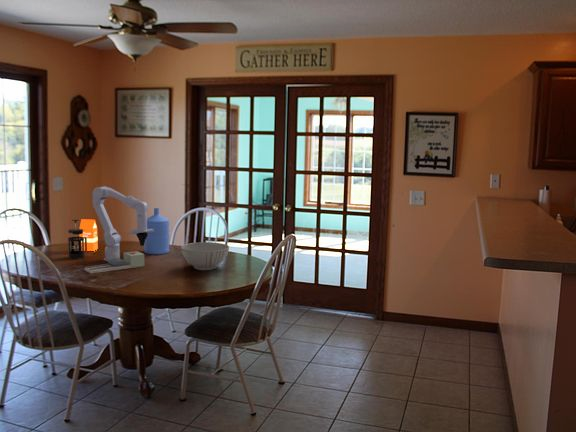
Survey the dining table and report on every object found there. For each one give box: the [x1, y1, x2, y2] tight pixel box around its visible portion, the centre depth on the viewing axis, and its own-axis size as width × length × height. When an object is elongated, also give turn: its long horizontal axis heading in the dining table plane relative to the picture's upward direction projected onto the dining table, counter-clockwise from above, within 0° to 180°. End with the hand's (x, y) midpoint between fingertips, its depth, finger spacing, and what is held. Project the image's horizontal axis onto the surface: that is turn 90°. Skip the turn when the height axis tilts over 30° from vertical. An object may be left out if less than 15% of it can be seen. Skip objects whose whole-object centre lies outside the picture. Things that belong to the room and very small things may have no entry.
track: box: [84, 250, 145, 274], centre depth 313 cm, size 10×30×7 cm, turn 130°
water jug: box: [143, 207, 170, 255], centre depth 356 cm, size 16×16×28 cm
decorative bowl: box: [180, 241, 230, 271], centre depth 319 cm, size 27×27×12 cm
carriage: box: [107, 252, 124, 265], centre depth 313 cm, size 7×6×6 cm
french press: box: [67, 218, 88, 260], centre depth 336 cm, size 12×9×23 cm
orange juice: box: [78, 218, 99, 252], centre depth 356 cm, size 8×9×20 cm
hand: (142, 245), depth 327 cm, fingers closed
